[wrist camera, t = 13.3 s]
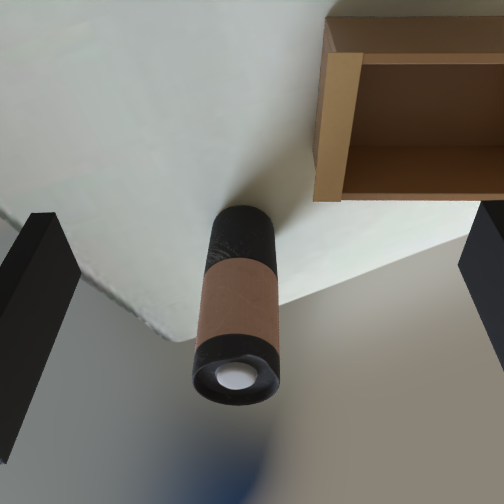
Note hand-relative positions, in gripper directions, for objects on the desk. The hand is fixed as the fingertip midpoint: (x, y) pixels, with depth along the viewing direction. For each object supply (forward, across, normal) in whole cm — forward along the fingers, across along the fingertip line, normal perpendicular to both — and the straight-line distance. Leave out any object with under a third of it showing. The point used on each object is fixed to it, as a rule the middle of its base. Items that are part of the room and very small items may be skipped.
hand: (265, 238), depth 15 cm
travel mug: (+29, -3, -25) cm, 39 cm away
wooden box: (+29, +16, -9) cm, 34 cm away
